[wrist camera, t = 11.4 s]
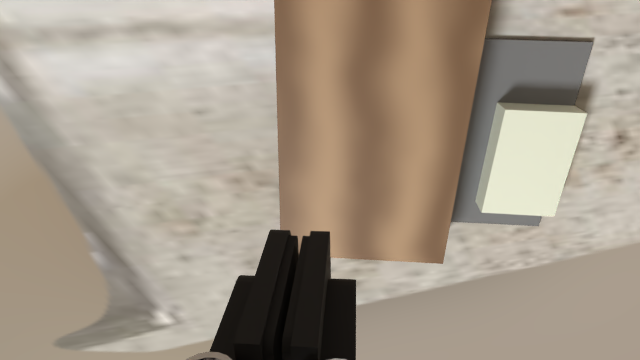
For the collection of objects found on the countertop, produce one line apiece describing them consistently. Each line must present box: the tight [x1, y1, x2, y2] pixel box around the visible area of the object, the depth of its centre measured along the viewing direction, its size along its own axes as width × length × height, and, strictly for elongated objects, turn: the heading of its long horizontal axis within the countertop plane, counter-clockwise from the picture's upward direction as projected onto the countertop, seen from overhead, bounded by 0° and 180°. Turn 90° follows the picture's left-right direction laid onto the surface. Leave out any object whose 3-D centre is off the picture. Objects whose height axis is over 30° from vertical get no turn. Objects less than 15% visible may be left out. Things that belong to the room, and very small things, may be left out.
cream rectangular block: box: [475, 102, 587, 217], centre depth 34 cm, size 6×9×2 cm, turn 179°
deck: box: [274, 0, 492, 264], centre depth 33 cm, size 14×22×4 cm, turn 179°
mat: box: [451, 39, 593, 226], centre depth 35 cm, size 9×16×1 cm, turn 179°
